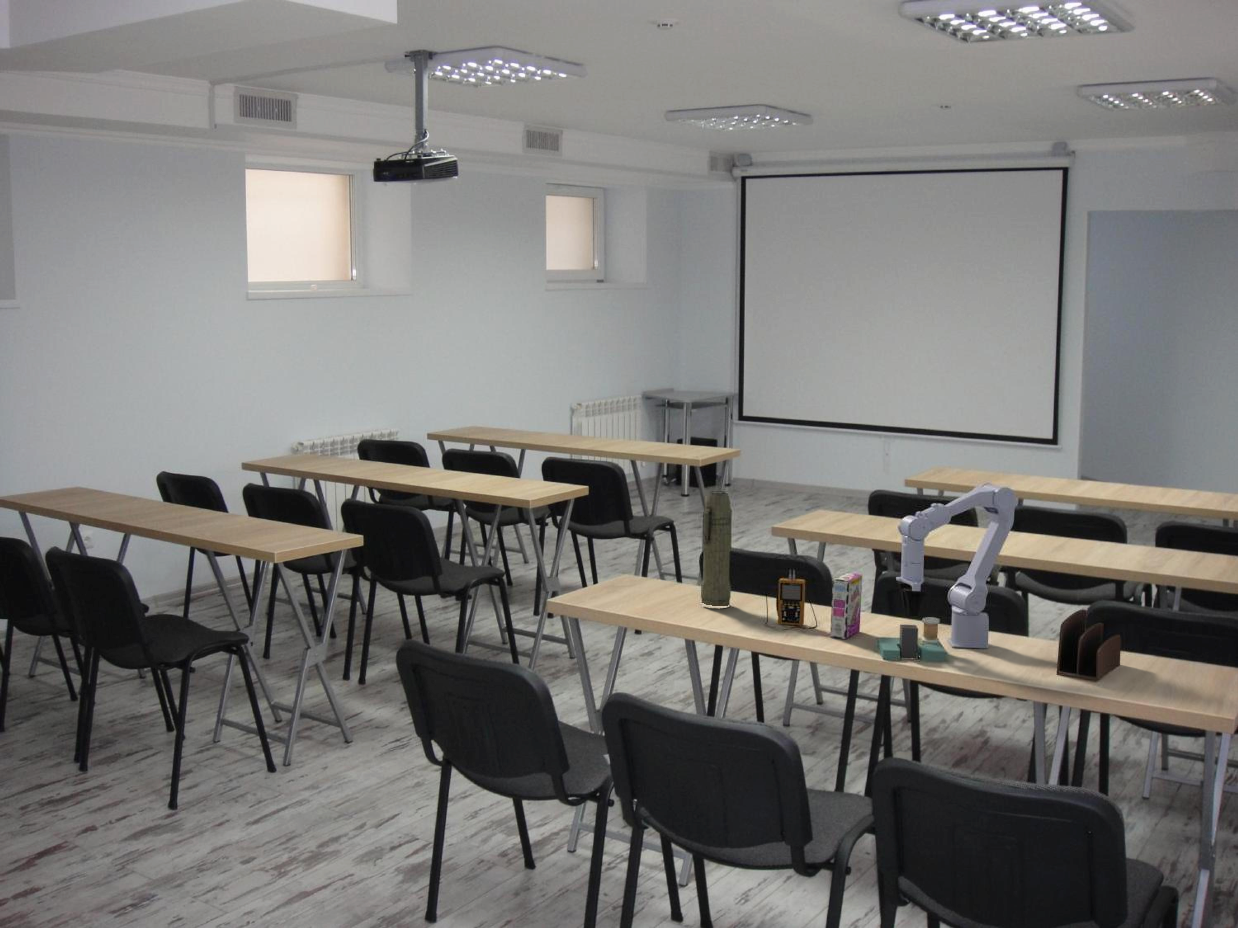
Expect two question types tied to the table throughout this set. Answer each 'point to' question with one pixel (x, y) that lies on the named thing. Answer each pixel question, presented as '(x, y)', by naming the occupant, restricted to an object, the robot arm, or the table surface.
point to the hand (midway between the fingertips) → (910, 612)
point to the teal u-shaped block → (926, 648)
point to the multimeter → (790, 600)
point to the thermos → (716, 549)
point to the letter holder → (1086, 649)
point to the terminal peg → (908, 641)
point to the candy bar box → (846, 605)
